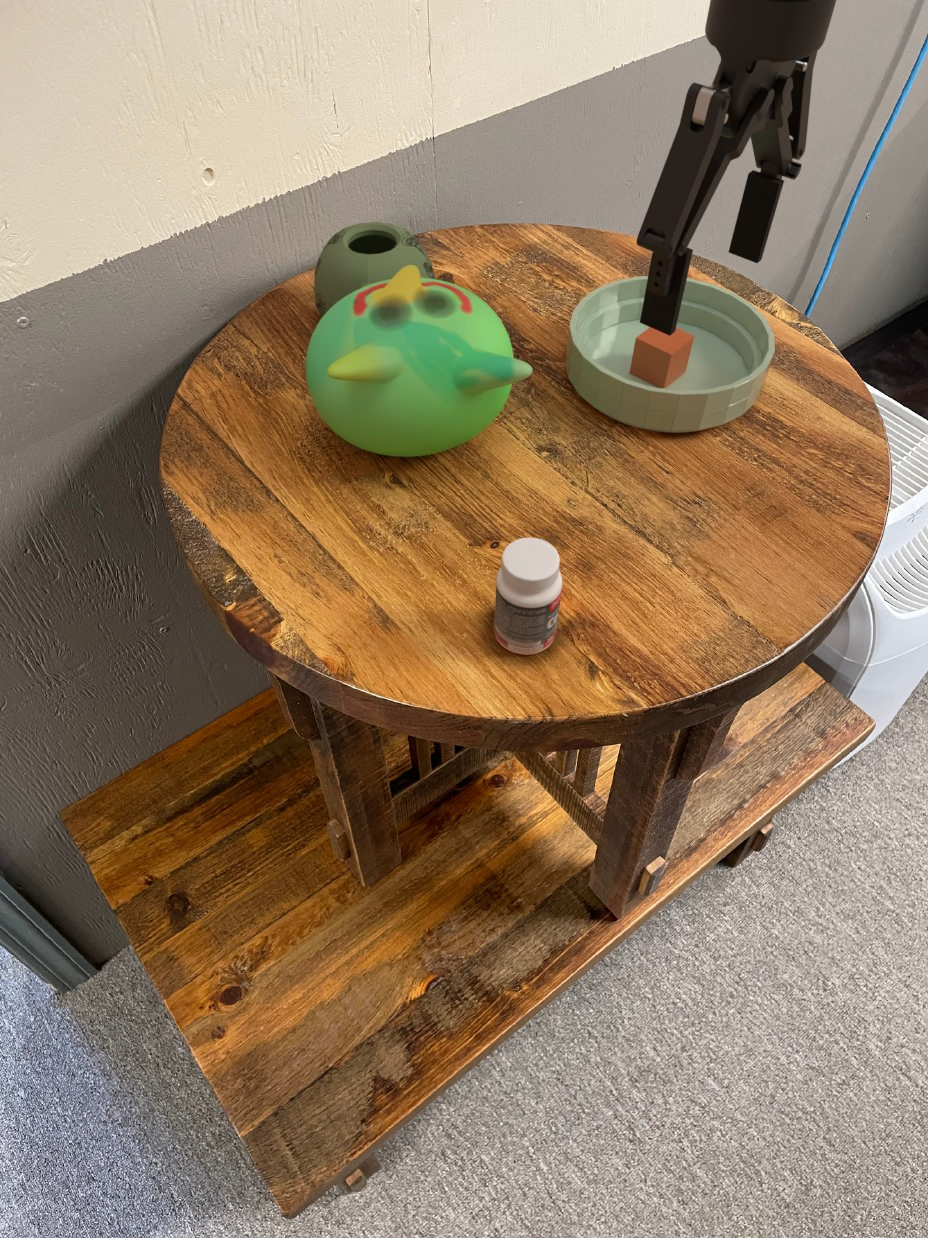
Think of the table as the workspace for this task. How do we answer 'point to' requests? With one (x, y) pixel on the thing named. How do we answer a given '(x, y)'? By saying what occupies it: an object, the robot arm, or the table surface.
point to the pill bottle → (527, 596)
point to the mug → (365, 260)
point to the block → (661, 356)
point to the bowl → (717, 368)
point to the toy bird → (410, 366)
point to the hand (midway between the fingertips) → (702, 290)
